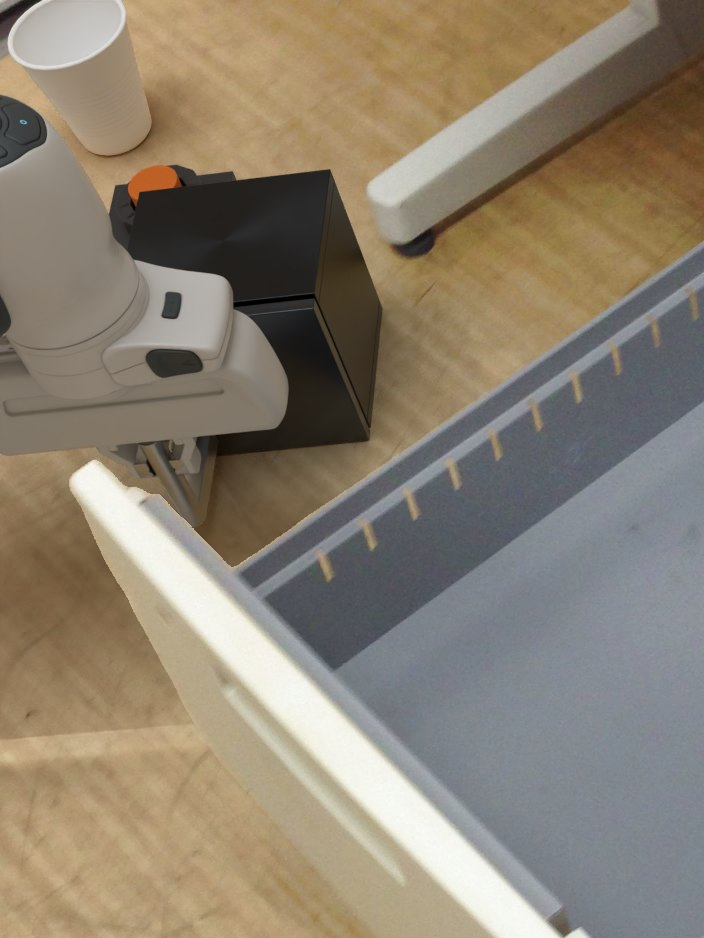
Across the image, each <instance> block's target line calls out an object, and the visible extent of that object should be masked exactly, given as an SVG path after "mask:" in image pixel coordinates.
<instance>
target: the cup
mask: <svg viewBox="0 0 704 938" xmlns="http://www.w3.org/2000/svg"><path fill="white" fill-rule="evenodd" d="M127 18H128V12H127V8H126V5H125V4H124V3H123V1H122V0H40V1H39V2H36V3H34V5H32V6H31V7H29V8H28V9H27V10H25V11H24V13H22V15H20V16H19V17H18V18H17V19H16V21H15V22H14V24H13V25H12V27H11V29H10V31H9V34H8V36H7V43H6V44H7V51H8V53H9V55H10V57H11V59H12V60H13V61H15V63H17V64H18V65H20V66H21V68H22V69H23V70H24V71H25V72H26V74H27V75H28V76H29V77H30V79H31V80H32V81H33V83H34V84H35V85H36V87H37V88H38V89H39V90H40V91H41V93H42V94H43V95H44V96H45V97H46V99H47V100H48V101H49V103H50V104H51V105H52V107H53V108H54V109H55V111H56V112H57V113H58V114H59V116H60V117H61V119H63V120H64V121H65V124H67V126H68V127H69V129H70V130H71V131H72V132H73V134H74V136H76V138H77V140H78V141H79V142H80V143H81V144H82V145H83V147H84V148H85V149H86V150H87V151H89V152H90V153H92V154H96V155H100V156H106V157H107V156H118V155H121V154H125V153H128V152H130V151H132V150H134V149H135V148H137V147H139V145H140V144H142V142H143V141H144V140H145V139H146V137H147V136H148V134H149V132H150V131H151V128H152V124H153V120H152V115H151V112H150V108H149V104H148V100H147V97H146V93H145V89H144V84H143V81H142V77H141V73H140V69H139V66H138V65H139V64H138V62H137V58H136V53H135V51H134V46H133V42H132V37H131V34H130V30H129V26H128V23H127V22H128V21H127Z"/></svg>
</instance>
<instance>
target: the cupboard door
mask: <svg viewBox="0 0 704 938" xmlns="http://www.w3.org/2000/svg"><path fill="white" fill-rule="evenodd" d="M233 309H234V310H237V311H239V312H241V313H243V314H245V315H246V316H248V317H249V318H250V319H252V320H253V321H254V322H255V323H256V324H257V326H258V327H259V328H260V330H261V331H262V333H263V334H264V336H265V337H266V339H267V340H268V342H269V343H270V345H271V347H272V348H273V350H274V352H275V354H276V355H277V357H278V359H279V361H280V363H281V365H282V367H283V369H284V371H285V374H286V376H287V379H288V386H289V390H288V402H287V408H286V412H285V415H284V417H283V419H282V421H281V423H280V424H279V425H278V427H276V428H274V429H269V430H258V431H248V432H238V433H228V434H219V435H209V436H199V437H197V439H196V446H197V448H198V449H199V451H200V454H201V464H200V470H199V473H195V474H184V475H177V474H176V473H175V469H174V468H172V466H171V465H170V463H169V457H170V453H171V452H172V451H171V449H170V442H171V439H170V440H160V441H151V442H141V443H138V445H139V447H140V448H141V450H142V452H143V454H144V455H145V457H146V459H147V460H148V462H149V464H150V465H151V467H152V469H153V470H154V472H155V474H156V477H157V480H158V481H159V482H160V484H161V486H162V487H163V489H164V491H165V492H166V495H167V496H168V498H169V500H170V501H171V503H172V504H173V505H174V508H175V510H176V511H177V514H179V516H180V518H181V517H183V518H184V519H185V520H186V521H187V522H188V523H189V524H190V525H191V526H192V527H191V528H198V527H200V526H201V525H203V524H204V523H205V521H206V520H207V514H208V509H209V502H210V495H211V489H212V484H213V477H214V471H215V465H216V458H217V456H228V455H236V454H247V453H257V452H267V451H278V450H287V449H296V448H297V449H298V448H306V447H316V446H317V447H318V446H326V445H328V446H329V445H337V444H347V443H357V442H366V441H369V440H370V432H371V431H370V430H371V429H370V428H369V427H368V425H367V423H366V420H365V418H364V416H363V413H362V411H361V408H360V406H359V404H358V401H357V399H356V396H355V394H354V392H353V389H352V387H351V384H350V382H349V380H348V377H347V375H346V373H345V370H344V368H343V365H342V363H341V361H340V358H339V356H338V353H337V351H336V349H335V346H334V344H333V342H332V339H331V337H330V334H329V332H328V330H327V327H326V325H325V322H324V320H323V318H322V315H321V313H320V310H319V308H318V306H317V303H316V301H315V299H314V298H311V299H302V300H293V301H284V302H275V303H266V304H257V305H248V306H239V307H233Z"/></svg>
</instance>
